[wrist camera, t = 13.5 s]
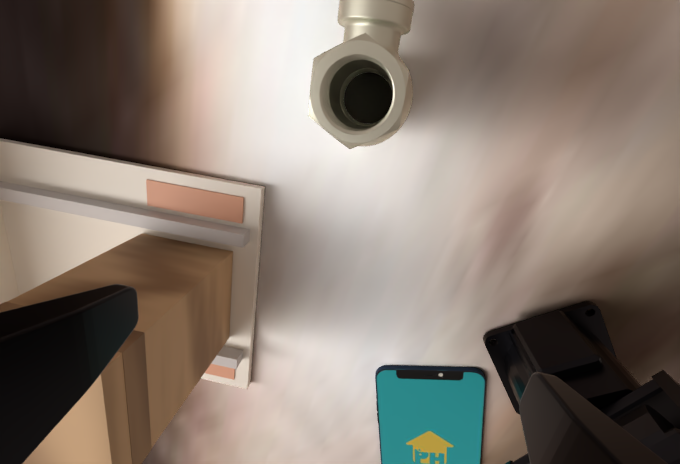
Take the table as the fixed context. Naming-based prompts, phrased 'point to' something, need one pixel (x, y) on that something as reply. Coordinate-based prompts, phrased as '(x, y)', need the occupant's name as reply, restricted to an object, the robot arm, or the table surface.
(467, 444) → the smartphone
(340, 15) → the valve
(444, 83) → the table surface
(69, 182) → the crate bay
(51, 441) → the tan wooden block
